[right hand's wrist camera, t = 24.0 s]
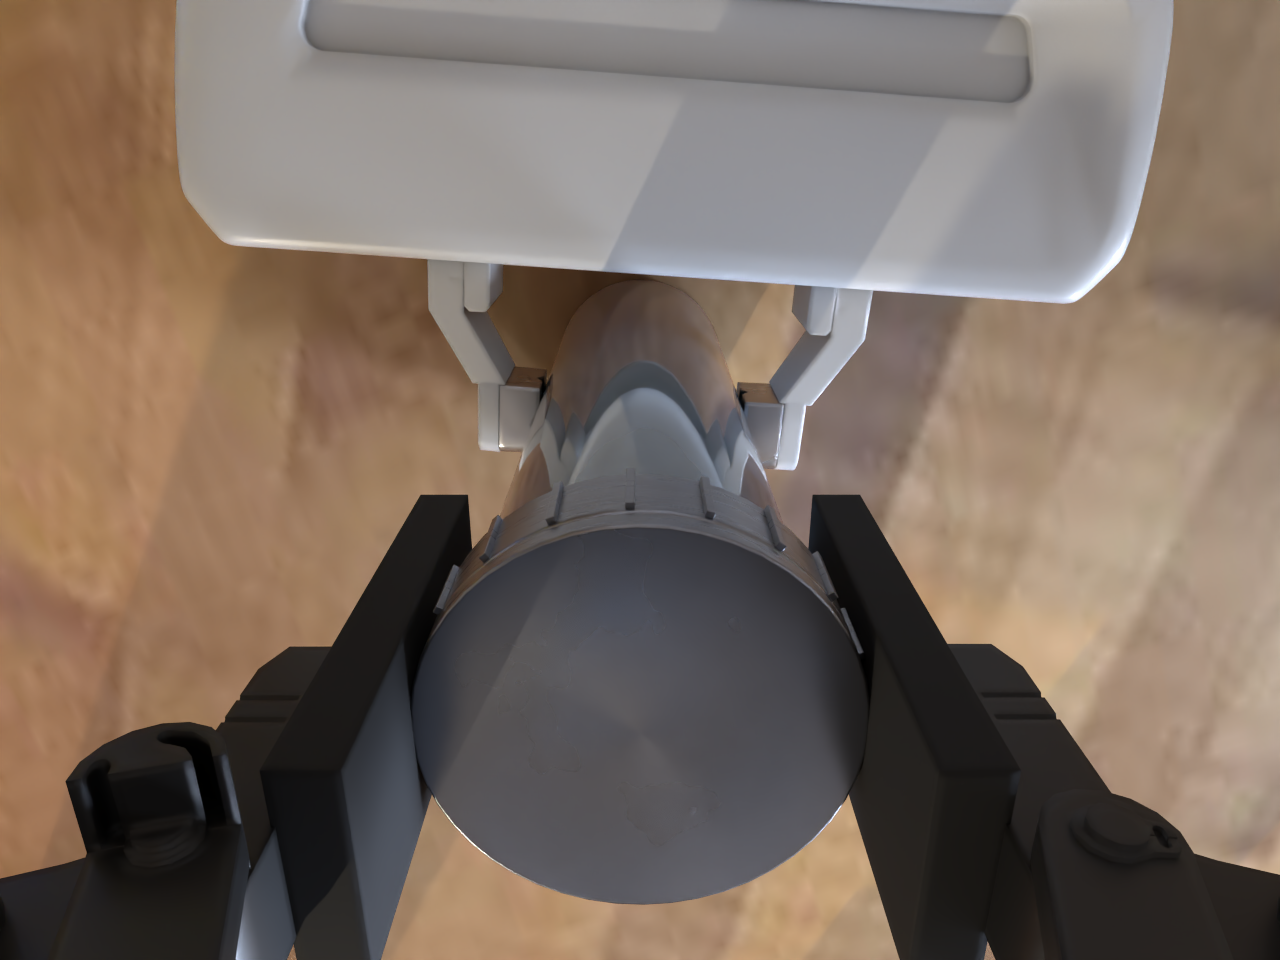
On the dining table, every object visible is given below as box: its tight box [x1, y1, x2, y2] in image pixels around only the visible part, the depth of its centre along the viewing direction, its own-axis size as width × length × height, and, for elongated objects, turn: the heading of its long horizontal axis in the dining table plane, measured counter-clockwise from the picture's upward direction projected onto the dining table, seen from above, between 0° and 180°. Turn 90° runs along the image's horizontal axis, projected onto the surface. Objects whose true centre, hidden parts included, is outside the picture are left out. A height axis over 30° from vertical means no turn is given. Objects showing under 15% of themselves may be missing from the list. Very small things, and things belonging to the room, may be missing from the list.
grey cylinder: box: [500, 280, 783, 523], centre depth 20 cm, size 5×5×18 cm
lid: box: [411, 468, 870, 904], centre depth 12 cm, size 6×6×2 cm
